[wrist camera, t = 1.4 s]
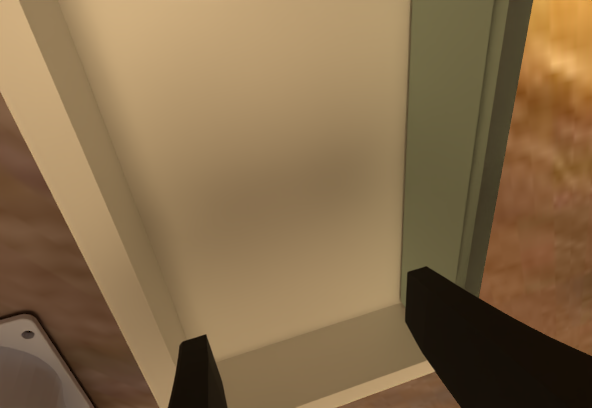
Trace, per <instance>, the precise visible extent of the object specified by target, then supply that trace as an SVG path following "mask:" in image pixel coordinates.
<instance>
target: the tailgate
mask: <svg viewBox="0 0 592 408" xmlns="http://www.w3.org/2000/svg"><path fill="white" fill-rule="evenodd" d="M532 3H533V0H412V25H411V50H410V75H409V100H408V125H407V150H406V176H405V201H404V226H403V251H402V276H401V302H402V304H403V305H404V306H405V307H406V287H407V272H409V271H412V270H415V269H419V268H422V267H425V266H427V267H429V268H430V269H432V270H434V271H435V272H437V273H439V274H440V275H442V276H443V277H445V278H447V279H448V280H450V281H451V282H453V283H455V284H456V285H458V286H460V287H461V288H463V289H464V290H466V291H468V292H469V293H471V294H473V295H474V296H476V297H478V298H479V293H480V288H481V282H482V277H483V271H484V266H485V260H486V255H487V249H488V244H489V238H490V233H491V227H492V222H493V216H494V211H495V206H496V200H497V195H498V189H499V184H500V178H501V173H502V167H503V162H504V156H505V151H506V145H507V140H508V134H509V129H510V123H511V118H512V112H513V107H514V102H515V96H516V91H517V85H518V80H519V74H520V69H521V63H522V58H523V52H524V47H525V41H526V36H527V30H528V25H529V19H530V14H531V9H532Z"/></svg>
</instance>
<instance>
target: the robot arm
mask: <svg viewBox="0 0 592 408" xmlns="http://www.w3.org/2000/svg"><path fill="white" fill-rule="evenodd" d="M405 323H406V324H407V326H408V328H409V330H410V332H411V334H412V336H413V338H414V339H415V341H416V343H417V345H418V346H419V348H420V350H421V352H422V353H423V355H424V356H425V358H426V359H427V361H428V362H429V363H430V365H431V366H432V368H433V369H434V371H435V372H436V373H437V375H438V376H439V378H440V379H441V380H442V382H443V383H444V384H445V386H446V387H447V389H448V390H449V391H450V393H451V394H452V396H453V397H454V398H455V400H456V401H457V403H458V404H459V405H460V407H461V408H592V356H590V355H588V354H586V353H583V352H581V351H579V350H577V349H575V348H572V347H570V346H568V345H566V344H564V343H561V342H559V341H557V340H555V339H553V338H551V337H549V336H547V335H545V334H543V333H541V332H539V331H537V330H535V329H533V328H531V327H529V326H527V325H525V324H524V323H522V322H520V321H518V320H516V319H514V318H512V317H511V316H509V315H507V314H505V313H503V312H502V311H500V310H498V309H496V308H495V307H493V306H491V305H489V304H488V303H486V302H484V301H483V300H481V299H479V298H478V297H476V296H474V295H473V294H471V293H469V292H468V291H466V290H464V289H463V288H461V287H460V286H458V285H456V284H455V283H453V282H451V281H450V280H448V279H447V278H445V277H443V276H442V275H440V274H439V273H437V272H435V271H434V270H432V269H430V268H429V267H427V266H425V267H422V268H419V269H415V270H412V271H409V272H407V287H406V307H405ZM25 331H32V332H31V333H28V332H25ZM0 408H94V406H93V405H92V403H91V402H90V400H89V399H88V397H87V395H86V394H85V392H84V391H83V389H82V388H81V386H80V385H79V383H78V382H77V380H76V379H75V377H74V376H73V374H72V373H71V371H70V369H69V368H68V366H67V365H66V363H65V362H64V360H63V359H62V357H61V356H60V354H59V353H58V351H57V350H56V348H55V347H54V345H53V343H52V342H51V340H50V339H49V337H48V336H47V334H46V333H45V331H44V330H43V328H42V327H41V325H40V324H39V322H38V321H37V319H36V318H35V317H34V316H32V315H29V314H21V315H17V316H13V317H10V318H6V319H2V320H0ZM168 408H228V407H227V402H226V397H225V392H224V387H223V382H222V379H221V376H220V373H219V371H218V368H217V365H216V362H215V359H214V356H213V353H212V350H211V347H210V344H209V341H208V338H207V335H206V334H205V335H202V336H198V337H195V338H192V339H189V340H186V341H183V342H182V343H181V344H180V345H179V353H178V361H177V367H176V373H175V378H174V383H173V387H172V392H171V397H170V400H169V404H168Z"/></svg>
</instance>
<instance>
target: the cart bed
mask: <svg viewBox="0 0 592 408" xmlns="http://www.w3.org/2000/svg"><path fill="white" fill-rule="evenodd" d="M411 25H412V0H0V92H1V94H2V96H3V98H4V100H5V102H6V104H7V106H8V108H9V110H10V112H11V114H12V116H13V118H14V120H15V122H16V124H17V126H18V128H19V130H20V132H21V134H22V136H23V138H24V140H25V142H26V144H27V146H28V148H29V150H30V152H31V154H32V156H33V158H34V159H35V161H36V163H37V165H38V167H39V169H40V171H41V173H42V175H43V177H44V179H45V181H46V183H47V185H48V187H49V189H50V191H51V193H52V195H53V197H54V199H55V201H56V203H57V205H58V207H59V209H60V211H61V213H62V215H63V217H64V219H65V221H66V223H67V225H68V227H69V229H70V231H71V233H72V235H73V237H74V239H75V241H76V243H77V245H78V247H79V249H80V251H81V253H82V255H83V257H84V259H85V261H86V263H87V265H88V267H89V269H90V271H91V273H92V275H93V277H94V279H95V281H96V283H97V285H98V286H99V288H100V290H101V292H102V294H103V296H104V298H105V300H106V302H107V304H108V306H109V308H110V310H111V312H112V314H113V316H114V318H115V320H116V322H117V324H118V326H119V328H120V330H121V332H122V334H123V336H124V338H125V340H126V342H127V344H128V346H129V348H130V350H131V352H132V354H133V356H134V358H135V360H136V362H137V364H138V366H139V368H140V370H141V372H142V374H143V376H144V378H145V380H146V382H147V384H148V386H149V388H150V390H151V392H152V394H153V396H154V398H155V400H156V402H157V404H158V406H159V408H168V404H169V400H170V397H171V392H172V387H173V383H174V378H175V373H176V367H177V361H178V353H179V345H180V344H181V343H182V342H183V341H186V340H189V339H192V338H195V337H198V336H202V335H205V334H206V335H207V338H208V341H209V344H210V347H211V350H212V353H213V356H214V359H215V362H216V365H217V368H218V371H219V373H220V376H221V379H222V382H223V387H224V392H225V397H226V402H227V407H228V408H336V407H339V406H342V405H344V404H347V403H350V402H353V401H355V400H358V399H361V398H364V397H366V396H369V395H372V394H374V393H377V392H380V391H383V390H385V389H388V388H391V387H394V386H396V385H399V384H402V383H405V382H407V381H410V380H413V379H416V378H418V377H421V376H424V375H426V374H429V373H432V372H435V371H434V369H433V368H432V366H431V365H430V363H429V362H428V361H427V359H426V358H425V356H424V355H423V353H422V352H421V350H420V348H419V346H418V345H417V343H416V341H415V339H414V338H413V336H412V334H411V332H410V330H409V328H408V326H407V324H406V323H405V306H404V305H403V304H402V302H401V276H402V251H403V226H404V201H405V176H406V150H407V125H408V100H409V75H410V50H411Z"/></svg>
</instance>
